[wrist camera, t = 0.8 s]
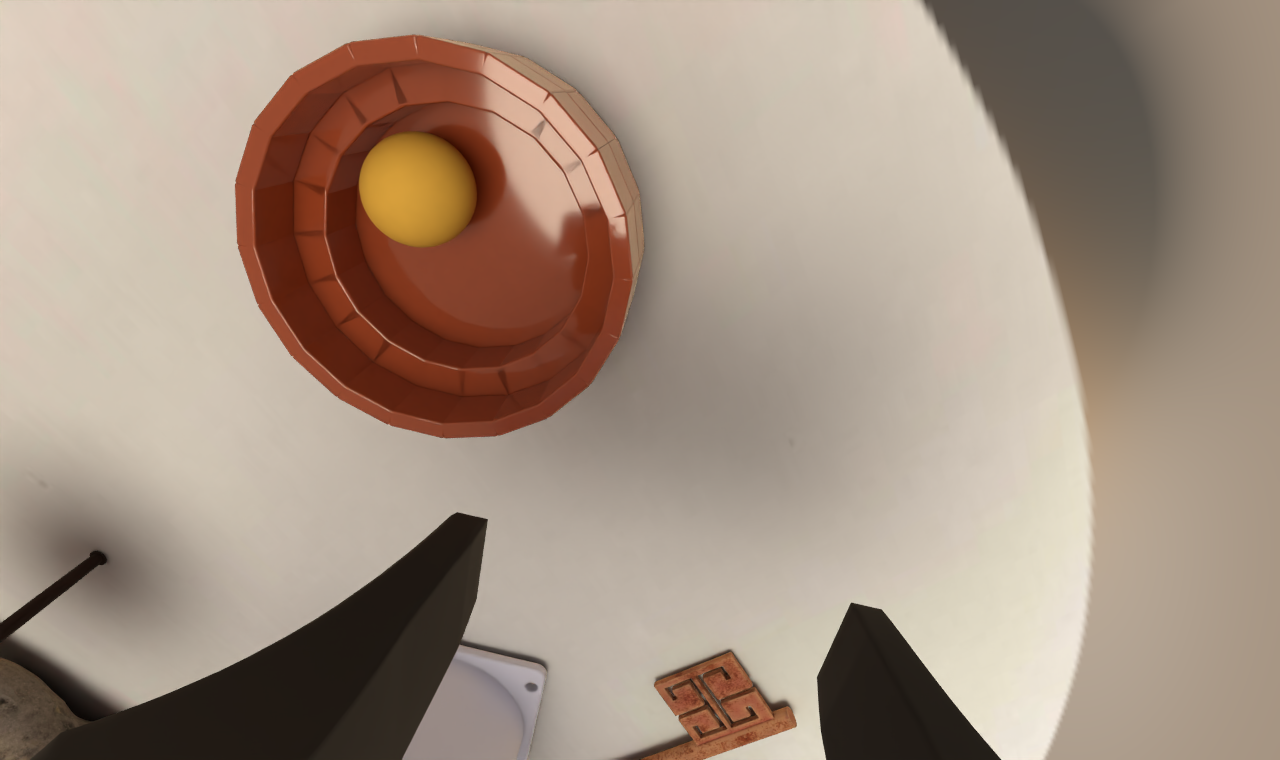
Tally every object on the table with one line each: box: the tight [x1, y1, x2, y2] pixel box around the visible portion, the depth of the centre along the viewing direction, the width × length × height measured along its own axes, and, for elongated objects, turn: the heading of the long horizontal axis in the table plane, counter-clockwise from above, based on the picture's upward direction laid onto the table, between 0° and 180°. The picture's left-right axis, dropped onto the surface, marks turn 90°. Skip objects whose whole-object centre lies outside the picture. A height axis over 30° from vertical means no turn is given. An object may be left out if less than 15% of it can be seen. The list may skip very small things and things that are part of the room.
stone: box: [0, 658, 91, 760], centre depth 29 cm, size 10×5×8 cm
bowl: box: [235, 35, 644, 438], centre depth 18 cm, size 10×10×4 cm
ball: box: [359, 131, 477, 248], centre depth 18 cm, size 3×3×3 cm
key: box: [640, 652, 797, 760], centre depth 29 cm, size 6×1×15 cm
